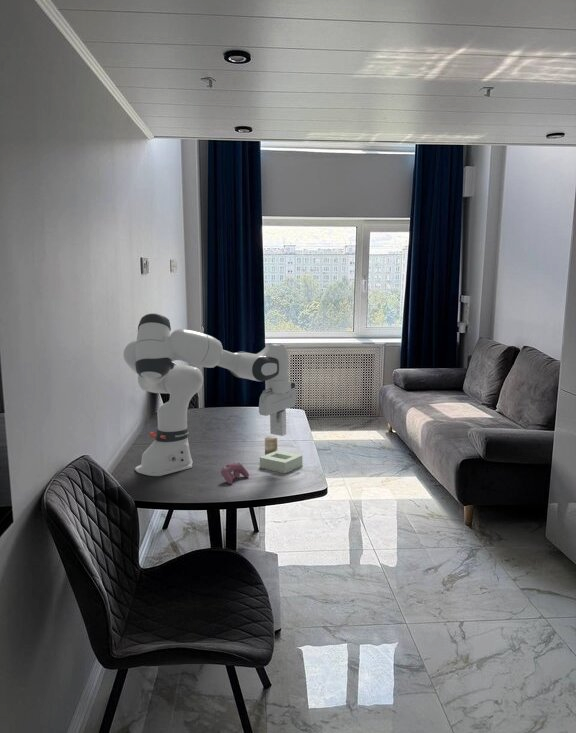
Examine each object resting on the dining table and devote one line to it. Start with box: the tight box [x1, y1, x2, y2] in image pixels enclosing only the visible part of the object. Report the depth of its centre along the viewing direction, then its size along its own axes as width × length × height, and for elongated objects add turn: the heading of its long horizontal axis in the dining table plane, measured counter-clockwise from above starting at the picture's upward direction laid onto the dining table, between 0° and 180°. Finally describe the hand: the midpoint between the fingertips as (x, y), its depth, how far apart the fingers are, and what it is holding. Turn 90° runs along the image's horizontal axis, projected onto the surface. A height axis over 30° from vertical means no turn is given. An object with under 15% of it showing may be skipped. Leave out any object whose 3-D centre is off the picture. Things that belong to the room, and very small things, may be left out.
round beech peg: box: [264, 436, 278, 455], centre depth 236 cm, size 5×5×8 cm
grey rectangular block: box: [269, 411, 287, 437], centre depth 223 cm, size 2×6×9 cm, turn 57°
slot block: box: [259, 449, 303, 474], centre depth 225 cm, size 11×12×4 cm
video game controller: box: [220, 462, 250, 485], centre depth 211 cm, size 10×5×7 cm, turn 141°
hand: (278, 422), depth 223 cm, fingers closed on grey rectangular block, 2 cm apart
